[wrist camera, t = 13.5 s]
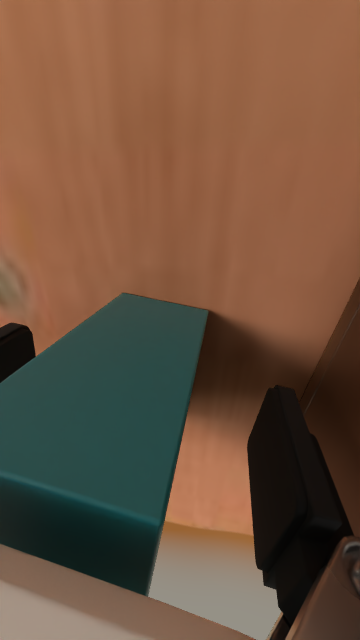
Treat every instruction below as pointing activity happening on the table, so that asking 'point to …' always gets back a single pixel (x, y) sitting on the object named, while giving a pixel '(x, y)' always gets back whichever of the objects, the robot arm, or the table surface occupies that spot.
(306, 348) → the table surface
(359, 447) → the chest
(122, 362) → the block
